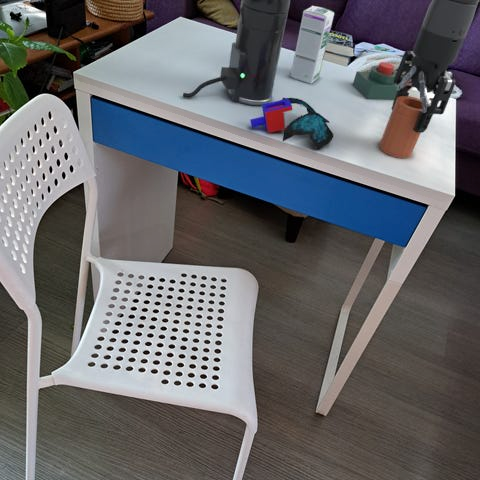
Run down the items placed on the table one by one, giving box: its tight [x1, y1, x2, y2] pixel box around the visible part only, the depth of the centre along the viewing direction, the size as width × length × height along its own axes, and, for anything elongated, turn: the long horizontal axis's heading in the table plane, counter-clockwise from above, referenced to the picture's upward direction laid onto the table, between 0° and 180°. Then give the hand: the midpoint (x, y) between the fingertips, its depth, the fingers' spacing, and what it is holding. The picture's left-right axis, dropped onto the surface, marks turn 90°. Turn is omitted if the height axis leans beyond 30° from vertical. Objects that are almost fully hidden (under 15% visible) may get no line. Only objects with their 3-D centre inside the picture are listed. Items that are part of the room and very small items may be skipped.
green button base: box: [352, 65, 397, 101], centre depth 120 cm, size 10×8×5 cm
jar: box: [378, 95, 431, 159], centre depth 98 cm, size 7×7×10 cm
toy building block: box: [250, 98, 293, 134], centre depth 97 cm, size 4×4×8 cm
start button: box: [377, 61, 395, 75], centre depth 118 cm, size 4×4×2 cm
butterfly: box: [281, 97, 334, 151], centre depth 98 cm, size 17×5×10 cm
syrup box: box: [289, 5, 335, 84], centre depth 116 cm, size 6×6×14 cm
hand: (407, 121), depth 96 cm, fingers open, 8 cm apart
